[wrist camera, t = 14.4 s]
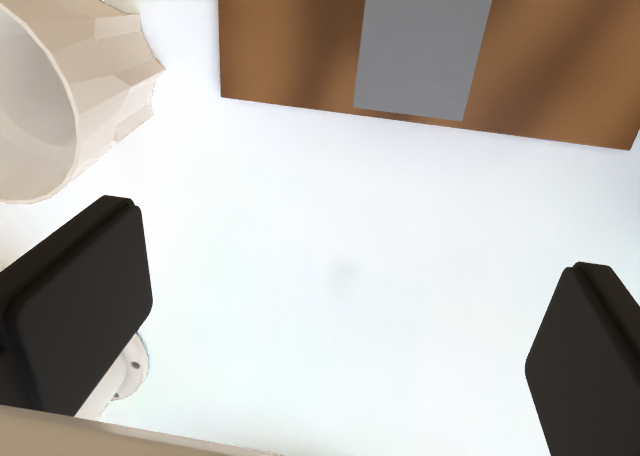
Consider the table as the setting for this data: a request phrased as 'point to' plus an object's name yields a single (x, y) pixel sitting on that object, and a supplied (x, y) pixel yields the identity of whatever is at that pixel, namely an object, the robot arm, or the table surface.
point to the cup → (67, 90)
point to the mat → (489, 77)
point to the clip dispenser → (419, 56)
